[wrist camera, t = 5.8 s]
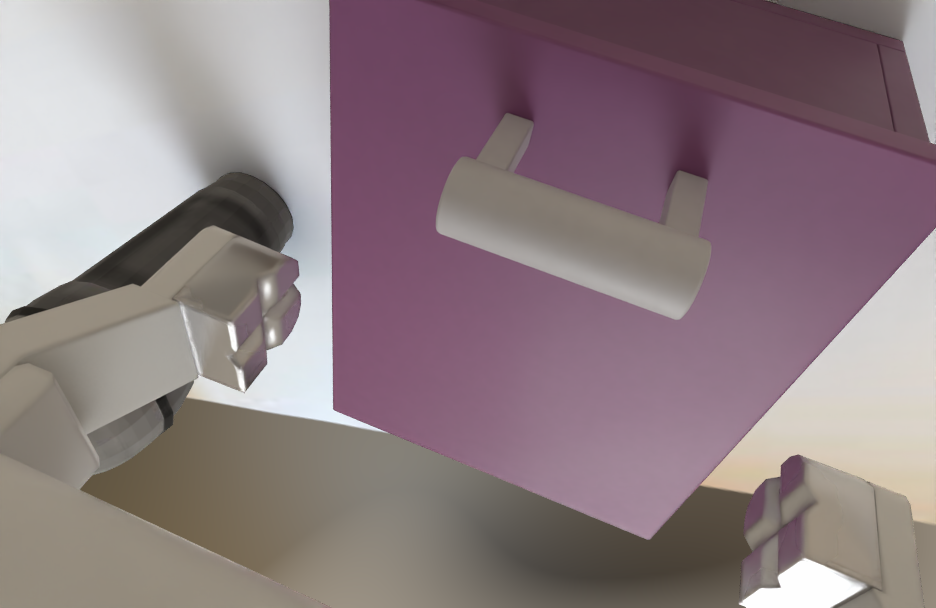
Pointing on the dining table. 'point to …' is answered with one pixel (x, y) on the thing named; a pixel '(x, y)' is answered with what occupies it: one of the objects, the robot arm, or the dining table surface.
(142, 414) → the beverage cup
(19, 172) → the dining table surface
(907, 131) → the box
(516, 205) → the box file lid
